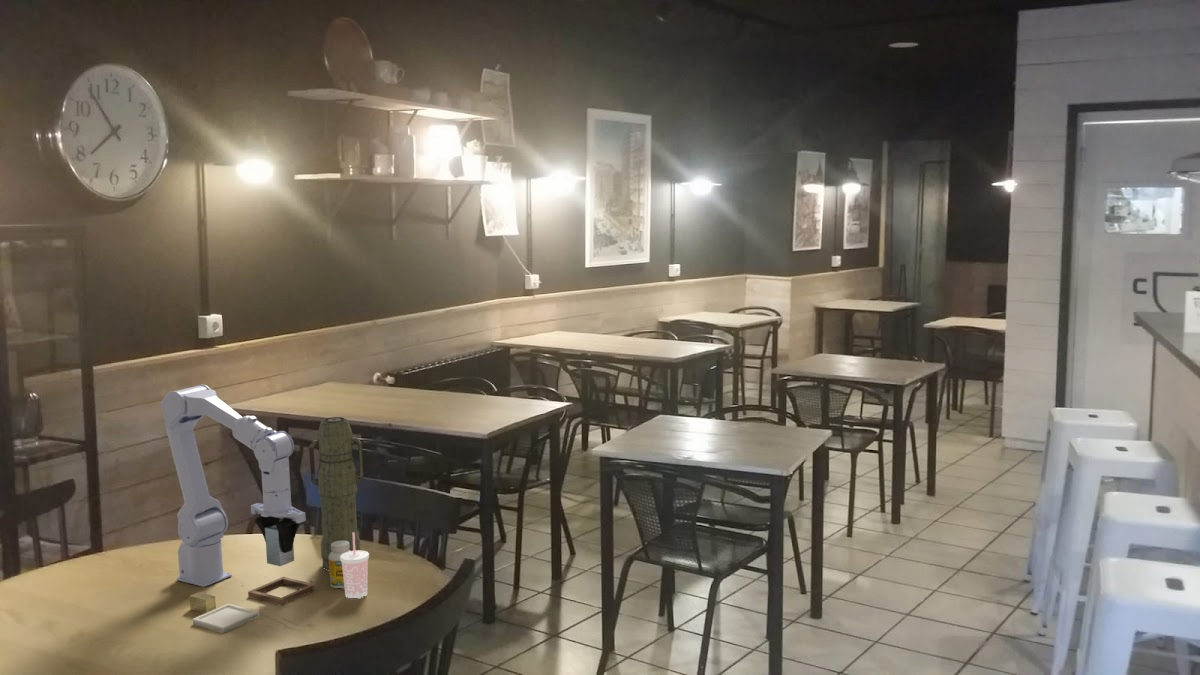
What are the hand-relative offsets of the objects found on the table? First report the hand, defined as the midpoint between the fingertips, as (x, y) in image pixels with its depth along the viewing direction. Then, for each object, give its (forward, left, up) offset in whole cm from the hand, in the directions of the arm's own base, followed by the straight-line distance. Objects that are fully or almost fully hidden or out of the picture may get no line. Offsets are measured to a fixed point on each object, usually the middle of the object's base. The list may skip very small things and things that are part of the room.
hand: (279, 549), depth 222 cm
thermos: (-1, +19, -10) cm, 22 cm away
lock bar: (-8, -14, -10) cm, 19 cm away
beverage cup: (+15, +7, -10) cm, 19 cm away
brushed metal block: (0, 0, -3) cm, 3 cm away
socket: (0, 0, -10) cm, 10 cm away
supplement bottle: (+8, +10, -10) cm, 16 cm away
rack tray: (+1, -16, -10) cm, 19 cm away
